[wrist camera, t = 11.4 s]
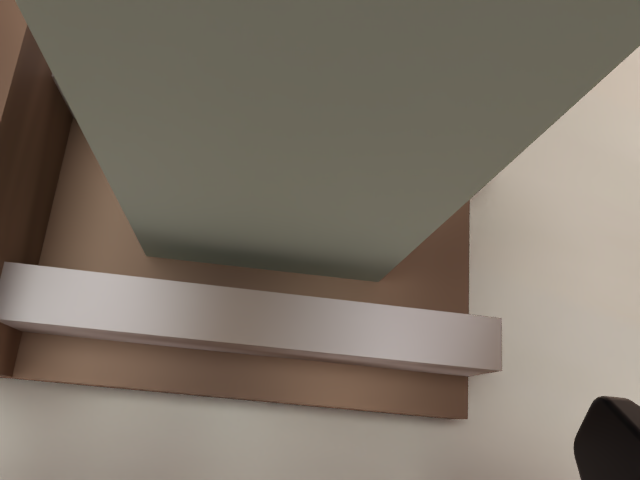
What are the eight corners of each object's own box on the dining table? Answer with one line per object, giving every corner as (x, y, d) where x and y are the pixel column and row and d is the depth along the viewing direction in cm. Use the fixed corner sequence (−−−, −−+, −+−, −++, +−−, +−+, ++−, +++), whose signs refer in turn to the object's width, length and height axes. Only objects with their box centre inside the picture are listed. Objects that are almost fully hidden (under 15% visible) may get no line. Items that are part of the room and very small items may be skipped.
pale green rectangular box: (382, 194, 16) (853, -490, 4) (378, 282, 16) (940, -229, 3) (161, 165, 16) (-90, -772, 3) (146, 255, 15) (-252, -519, 3)
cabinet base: (455, 123, 19) (532, 24, 14) (450, 418, 16) (544, 419, 11) (56, 62, 17) (-8, -71, 13) (-22, 375, 15) (-143, 355, 10)
